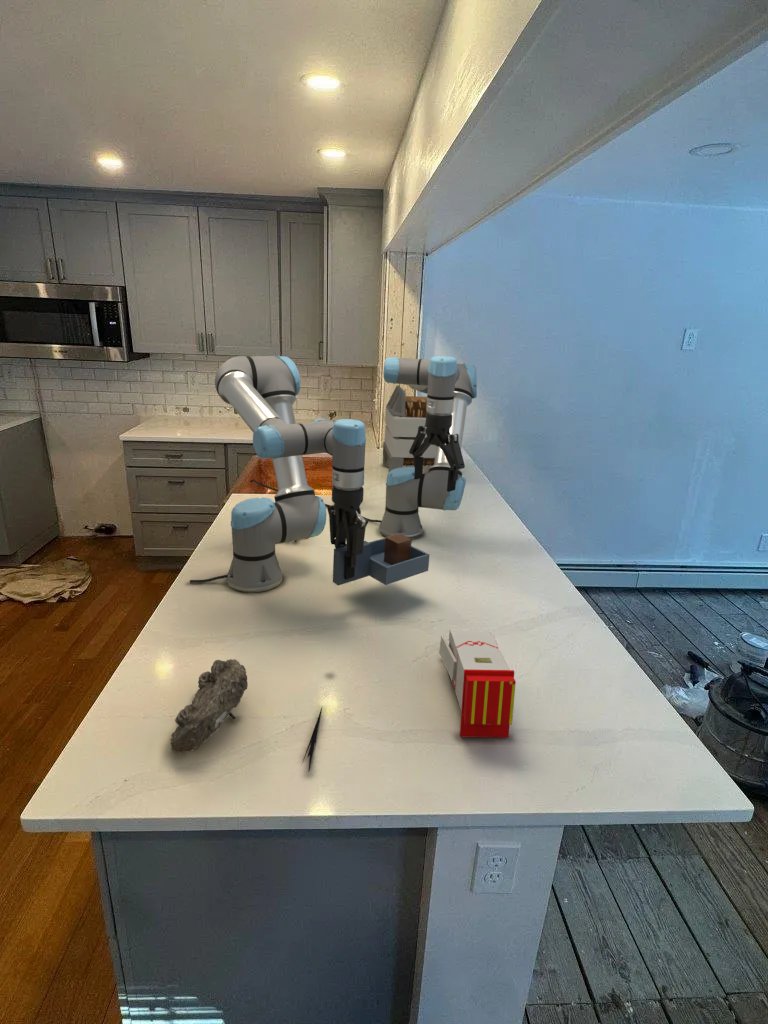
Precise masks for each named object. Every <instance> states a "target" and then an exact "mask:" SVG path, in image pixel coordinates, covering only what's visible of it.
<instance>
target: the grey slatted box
mask: <svg viewBox="0 0 768 1024" xmlns="http://www.w3.org/2000/svg"><path fill="white" fill-rule="evenodd" d="M426 409H427V396H416V395H414V396H413V395H410V396H409V395H407V393H406V390H405V389H404V388H402V387H401V385H400V384H396V386H395V388H394V389H393V392H392V393H391V395H390V398H389V400H388V402H387V403H386V405H385V413H384V414H385V416H384V424H385V425H384V426H385V427H384V440H383V441H382V442H383V443H382V463H381V464H382V465H383V467H386V468H388V473H389V472H390V471H391V470H393V469H396V468H400V467H414V457H413V455H412V454H410V453H409V451H410V448H411V446H412V444H413V442H414V440H415V438H416V435H417V433H418V427H419V426H424V425H425V422H426V414H427V413H428V412H427V411H426ZM426 437H427V434H426V435H425V437H424V439H425V438H426ZM424 439H423V442H424ZM423 442H422V443H423ZM436 447H437V446H436V445H430V446H429V447H428V449H427V450H426V451H425V452H424V453H423V454H422V455H423V456H420V457H424V458H423V467H426V466H427V467H432V466H433V465H434V461H435V454H436Z"/></svg>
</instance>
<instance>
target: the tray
mask: <svg viewBox="0 0 768 1024" xmlns="http://www.w3.org/2000/svg"><path fill="white" fill-rule="evenodd" d="M384 551H385V537H383V538H379V539H375V540H373V541H367V540H364V545H363V553H362V554H359V555H356V566H355V576H354V577H352V578H349V579H344V564H345V554H346V553H347V546H344V547H340V548H333V562H332V583H333V584H335V585H337V586H341V585H345V584H348V583H352V582H354V581H357V580H360V579H363V578H366V577H371V578H372V579H374V580H376V581H377V582H379V583H380V584H383V585H384V586H387V585H390V584H391V585H392V584H394V583H397V582H399V581H402V580H405V579H408V578H411V577H414V576H417V575H420V574H423V573H426V572H429V567H430V566H429V565H430V556H431V555H430V553H428V552H426V551H424V550H421V549H419V548H417V547H416V546H414V545H411V552H410V560H407V561H403V562H400V563H397V564H394V565H390V564H388V563H387V562H385V561H384Z"/></svg>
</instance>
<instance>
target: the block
mask: <svg viewBox="0 0 768 1024" xmlns="http://www.w3.org/2000/svg"><path fill="white" fill-rule="evenodd" d="M384 538H385V551H384V561H385V562H387V563H388V564H390V565H394V564H397V563H400V562H403V561H407V560H410V552H411V546H412V539H409V538H407V537H405V536H403V535H401V534H396V535H392V536H388V537H384Z"/></svg>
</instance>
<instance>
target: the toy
mask: <svg viewBox="0 0 768 1024" xmlns="http://www.w3.org/2000/svg"><path fill="white" fill-rule="evenodd" d="M438 654H439V656H440V658H441V660H442V662H443V665H444V666H445V668H446V671H447V673H448V675H449V677H450V681H451V683H452V685H453V689H454V690H455V695H456V698H457V702H458V705H459V708H460V726H459V737H460V738H509V737H510V728H511V727H510V726H512V725H513V717H514V706H515V705H514V704H515V693H516V684H517V683H516V679H515V670H514V669H510V667H509V666H508V663H507V662H506V660H505V658H504V655H503V654H502V652H501V650H500V648H499V644H498V642H497V638H496V635H495V634H492V632H491V631H490V629H467V628H466V629H465V628H463V629H461V628H460V629H459V628H450V629H449V631H448V641H447V639H446V638H445V636H444V634H443V635H442V634H441V635H440V641H439V651H438Z"/></svg>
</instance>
